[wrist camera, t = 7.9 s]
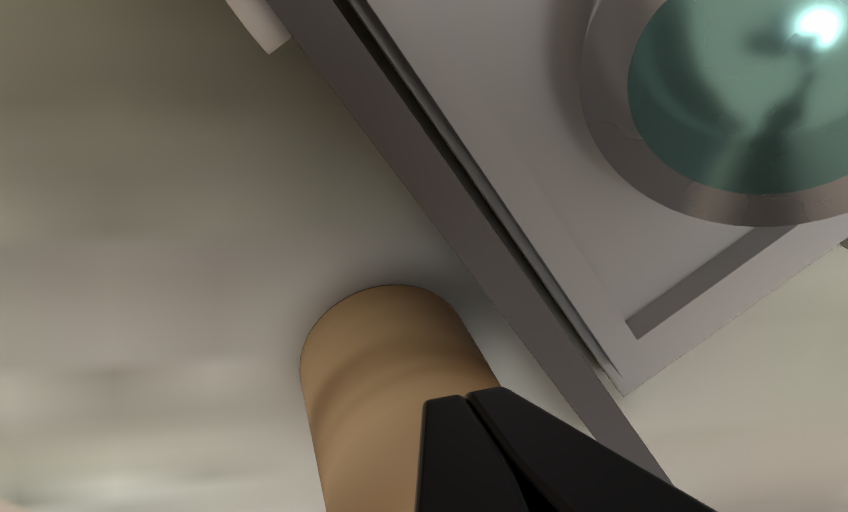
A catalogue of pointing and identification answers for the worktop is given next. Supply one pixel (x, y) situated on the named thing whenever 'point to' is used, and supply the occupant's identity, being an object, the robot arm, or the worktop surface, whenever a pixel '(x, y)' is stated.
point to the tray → (540, 188)
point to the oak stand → (382, 390)
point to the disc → (723, 105)
